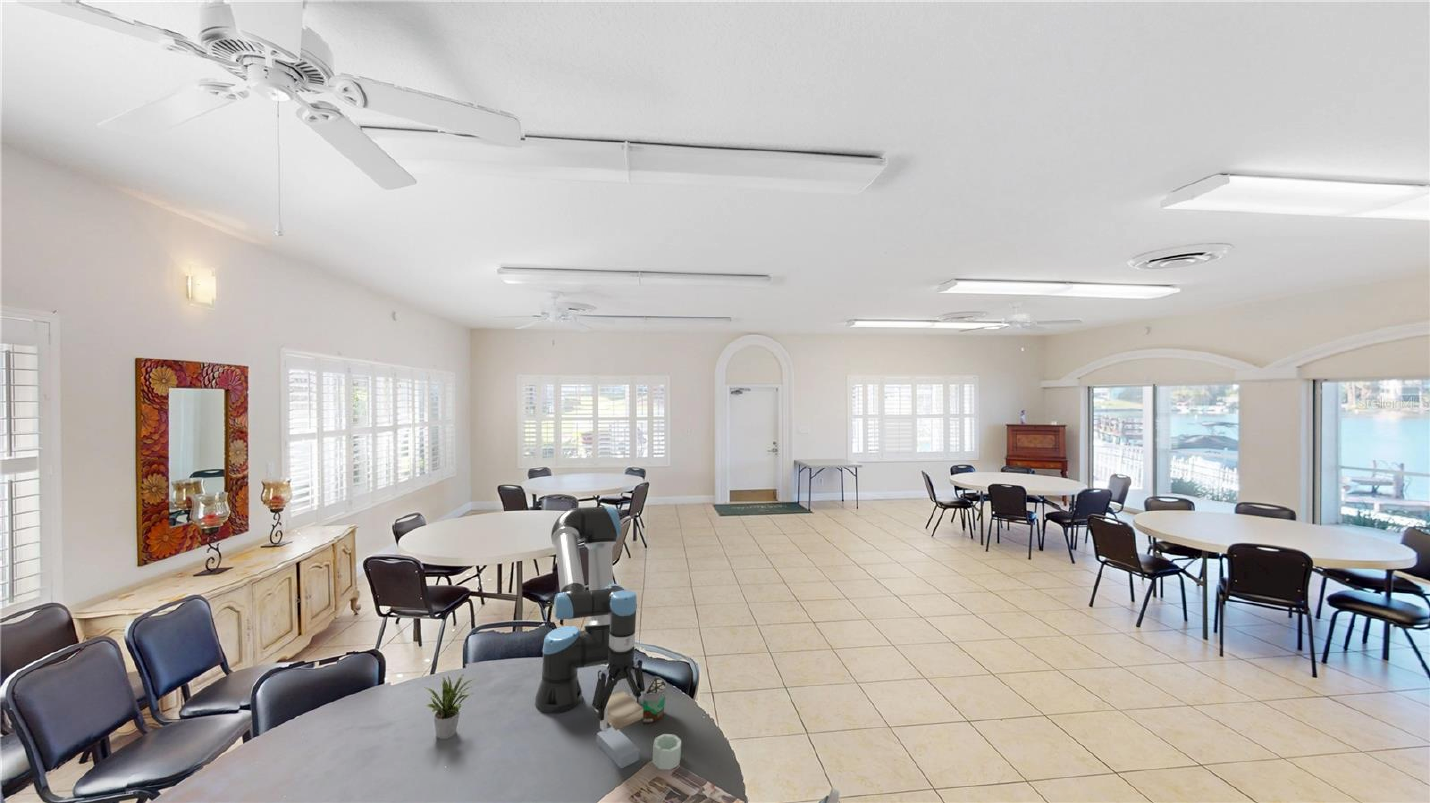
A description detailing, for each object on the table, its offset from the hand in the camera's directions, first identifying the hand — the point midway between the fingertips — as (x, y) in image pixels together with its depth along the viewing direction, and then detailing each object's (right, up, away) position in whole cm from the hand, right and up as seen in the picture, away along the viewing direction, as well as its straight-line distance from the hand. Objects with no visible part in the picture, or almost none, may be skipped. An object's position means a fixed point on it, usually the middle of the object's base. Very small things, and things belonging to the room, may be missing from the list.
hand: (618, 722), depth 151 cm
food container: (+10, -9, +17) cm, 21 cm away
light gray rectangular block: (0, -8, -1) cm, 8 cm away
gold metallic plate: (0, +3, 0) cm, 3 cm away
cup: (+15, -8, -4) cm, 17 cm away
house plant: (-51, -6, +5) cm, 52 cm away
